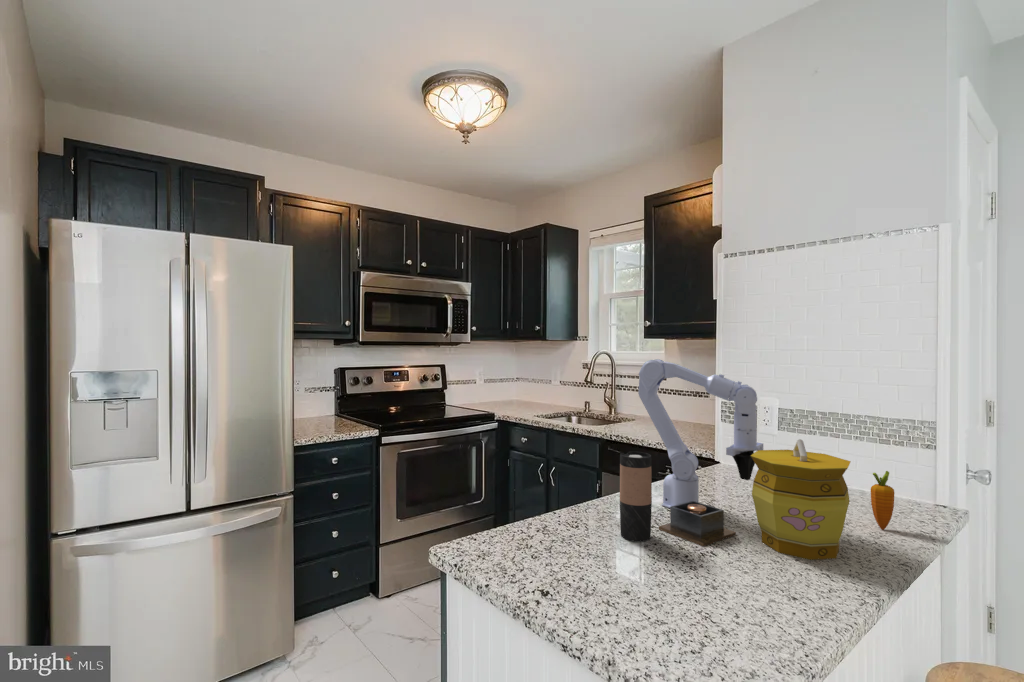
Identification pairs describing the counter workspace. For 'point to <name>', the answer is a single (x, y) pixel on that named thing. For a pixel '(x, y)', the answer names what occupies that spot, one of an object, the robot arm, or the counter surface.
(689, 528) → the knob box on board
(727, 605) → the counter surface
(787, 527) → the container
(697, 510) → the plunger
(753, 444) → the robot arm
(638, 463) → the travel mug
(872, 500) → the carrot
